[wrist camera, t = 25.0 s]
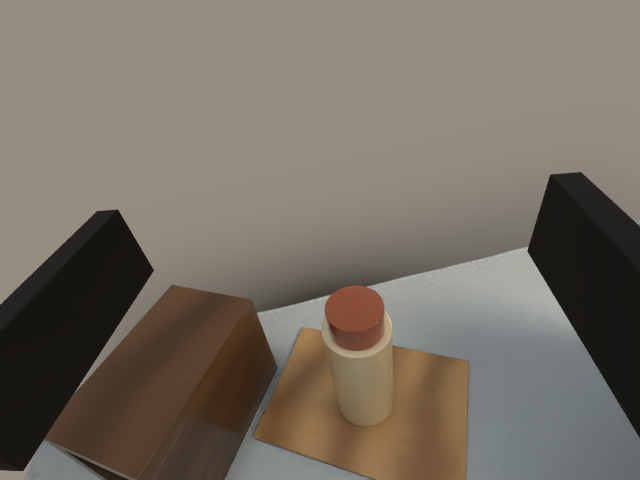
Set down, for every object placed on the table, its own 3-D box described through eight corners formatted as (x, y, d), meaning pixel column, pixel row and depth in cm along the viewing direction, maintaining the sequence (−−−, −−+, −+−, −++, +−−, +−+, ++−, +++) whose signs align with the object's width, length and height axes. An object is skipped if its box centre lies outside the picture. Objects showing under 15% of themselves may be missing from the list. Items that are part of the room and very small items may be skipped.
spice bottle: (398, 378, 38) (398, 286, 29) (387, 434, 34) (383, 345, 25) (345, 366, 40) (330, 276, 31) (329, 417, 36) (306, 329, 27)
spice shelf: (277, 367, 41) (251, 299, 34) (200, 529, 30) (136, 480, 23) (208, 349, 45) (171, 284, 38) (116, 489, 33) (37, 435, 26)
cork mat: (468, 363, 39) (468, 361, 38) (464, 510, 29) (464, 509, 28) (303, 328, 45) (302, 326, 45) (253, 438, 35) (252, 436, 35)
